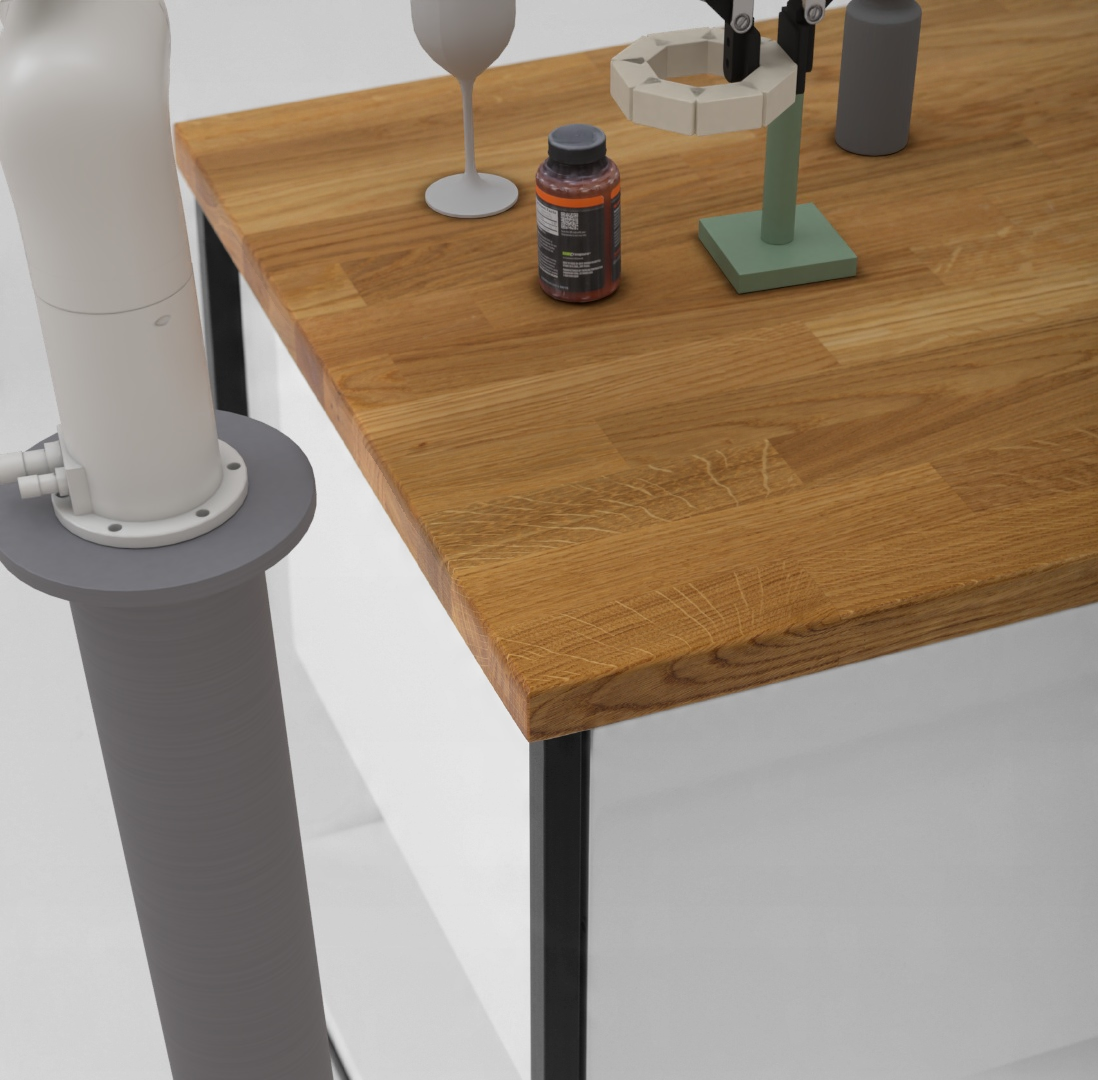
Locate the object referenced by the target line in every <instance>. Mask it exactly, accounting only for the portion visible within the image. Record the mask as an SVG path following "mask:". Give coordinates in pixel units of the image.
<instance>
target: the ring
mask: <svg viewBox="0 0 1098 1080" xmlns="http://www.w3.org/2000/svg"><path fill="white" fill-rule="evenodd" d="M723 51H724V28H721V27H716V26H713V27H712V28H710V27H709V26H702V27H695V28H686V29H680V30H678V29H677V30H671V31H663V32H655V33H647V35H646V36H645V35H641V36H640V37H639V38H637V39H636V40H635V41H633V42H632V43H630V44H629V45H628V46H627V47H625V48H624V49H623V50H621V51H619V52H618V53H617V54H616V55H614V56H613V57H612V58H610V59H611V61H610V62H609V63H610V65H609V66H610V71H609V72H610V78H609V79H610V80H609V81H610V85H609V86H610V87H609V88H610V92H609V93H610V96H611V97H612V99H613V100H614V102H615V104H616V105H617V106H618V108H619V109H620V110H621V112H622V113H623V115H624V117H625V118H626V119H627V121H629V122H631V121H632V123H633V124H636V125H641V126H645V127H649V128H653V129H658V130H662V131H667V132H671V133H675V134H679V135H684V136H688V137H693V136H694V135H695V136H696V137H698V138H699V137H707V136H714V135H720V134H721V135H722V134H728V133H736V132H743V131H751V130H759V129H762V127H765V128H767V126H768V125H769V124H770V123H771V122H772V121H773V120H774V119H776V118H777V117H778V116H779V115H780V114H781V113H783V112H784V111H785V110H786V109H787V108H788V107H790V106H791V105H792V104H793V103H794V102H795V96H796V80H797V65H796V63H794V62H793V60H792V59H791V58H790V57H789V56H788V55H787V54H786V52H785V51H784V50H783V49H782V48H781V47H780V46H779V44H778V43H777V40H776V39H775V40H772V38H770V37H764V36H761V46H760V65H759V67H758V68H757V69H756V70H755V71H754V72H752V73H751V74H750V75H749V76H747V77H746V78H745V79H744V80H743V81H741V82H736V83H729V82H727V83H721V84H713V85H705V86H695V85H690V84H684V83H681V82H676V81H671V80H668V79H674V78H675V79H676V78H684V77H691V76H698V75H707V74H708V75H713V76H717V77H721V78H725V76H724V72H723Z"/></svg>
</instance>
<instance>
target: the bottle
mask: <svg viewBox="0 0 1098 1080" xmlns="http://www.w3.org/2000/svg"><path fill="white" fill-rule="evenodd" d="M922 17H923V10H922V7H921V5H920V4H919V3H918V2H917V1H916V0H850V1H849V2H848V3H847V5H846V8H845V14H844V23H843V24H844V25H843V36H842V45H841V59H840V69H839V81H838V94H837V107H836V116H835V117H836V119H835V135H834V138H835V142H836V144H837V145H838V146H839V147H840V148H842V150H845V151H847V152H850V153H853V154H858V155H861V156H885V155H890V154H891V155H892V154H893V153H897V152H899V151H901V150H903V149H904V148H905V147H906V146H907V145H908V143H909V142H908V141H909V135H910V128H911V127H910V126H911V119H912V109H913V100H914V92H915V84H916V74H917V65H918V56H919V46H920V36H921V27H922Z"/></svg>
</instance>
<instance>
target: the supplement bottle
mask: <svg viewBox="0 0 1098 1080" xmlns="http://www.w3.org/2000/svg"><path fill="white" fill-rule="evenodd" d="M547 147H548V148H547V155H548V157H547V158H545V159H544V160H543V161H542V162H541V163H540V164H539V166H538V168H537V169H536V173H535V208H536V209H535V211H536V212H535V213H536V232H537V233H536V234H537V235H536V237H537V238H536V239H537V264H538V266H537V268H538V269H537V270H538V271H537V272H538V283H539V285H540V286H539V287H540V288H541V289H542V291H543V292H544V293H545V294H547V295H548V296H550V297H551V298H553V299H555V300H558V301H562V302H563V301H564V302H569V303H589V302H594V301H598V300H601V299H603V298H605V297H606V298H607V297H608V296H610V295H612V294H613V293H614V292H615V291H616V290H617V289H618V287H620V283H621V279H622V277H621V276H622V274H621V273H622V239H621V238H622V224H621V223H622V216H621V215H622V211H621V206H622V205H621V203H622V202H621V201H622V200H621V196H622V195H621V194H622V193H621V173H620V169H619V167H618V165H617V164H616V163H615V161H614V160H613V159H612V158H611V157H609V156H607V152H608V150H607V136H606V133H605V131H604V130H602V129H601V128H600V127H597V126H595V125H593V124H588V123H570V124H569V123H568V124H565V125H561V126H559V127H556V128H554V129H553V130H551V131H550V132H549V134H548V137H547Z"/></svg>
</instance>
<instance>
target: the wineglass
mask: <svg viewBox="0 0 1098 1080" xmlns="http://www.w3.org/2000/svg"><path fill="white" fill-rule="evenodd" d="M516 3H517V2H516V0H410V15H411V23H412V27H413V32H414V35H415V36H416V39H417V41H418V43H419V45H420V47H421V48H422V50H423V51H424V52H425V53H426V54H427V55H428V57H430V59H431V60H432V61H433V62H435V63H436V64H437V65H438V66H439V67H441V68H442V69H444V71H446V72H447V73H448V74H450V75H451V76H453V77H454V78H456V80H457V82H458V84H459V86H460V91H461V96H462V114H463V135H464V136H463V137H464V139H463V140H464V158H465V159H464V160H465V163H464V164H465V165H464V173H463V172H462V173H456V174H452V175H447V176H445V177H442V178H440V179H438V180H436V181H434V182H433V183H431V184H430V185H429V186H428V187H427V189H426V191H425V193H424V197H425V199H424V200H425V203H426V204H427V206H428V207H429V208H430V209H431V210H432V211H433V212H437V213H438V214H440V215H444V216H448V217H451V218H457V219H478V218H479V219H480V218H487V217H492V216H495V215H498V214H502V213H504V212H506V211H507V210H509V209H511V208H512V207H513V206H514V205H515V204H516V203H517V202H518V199H519V189H518V187H517V186H516V184H515V183H514V182H512V181H511V180H510V179H507V178H505V177H503V176H501V175H496V174H493V173H485V172H478V171H477V167H476V155H475V153H476V152H475V131H474V108H473V92H474V84H475V82H476V80H477V77H479V76H480V75H481V74H483V73H484V72H485V71H486V70H487V69H488V68H489V67H490V66H491V65H492V64H493V63H495V62H496V61H497V60H498V59H499V57H500V56H501V55H502V54H503V52H504V51H505V50H506V48H507V47H508V45H509V44H510V42H511V39H512V36H513V34H514V30H515V26H516V16H517V4H516Z"/></svg>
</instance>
